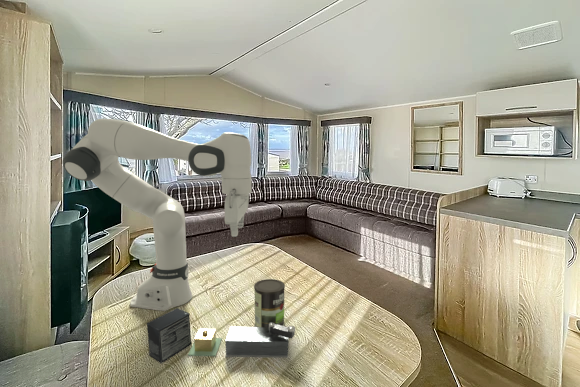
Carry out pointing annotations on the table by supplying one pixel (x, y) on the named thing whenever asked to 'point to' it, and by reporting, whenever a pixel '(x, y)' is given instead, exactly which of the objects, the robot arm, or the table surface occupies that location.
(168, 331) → the small box
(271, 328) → the lever
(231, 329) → the body
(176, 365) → the table surface
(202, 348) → the wooden cube with knob
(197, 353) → the mat
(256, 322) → the coffee can
